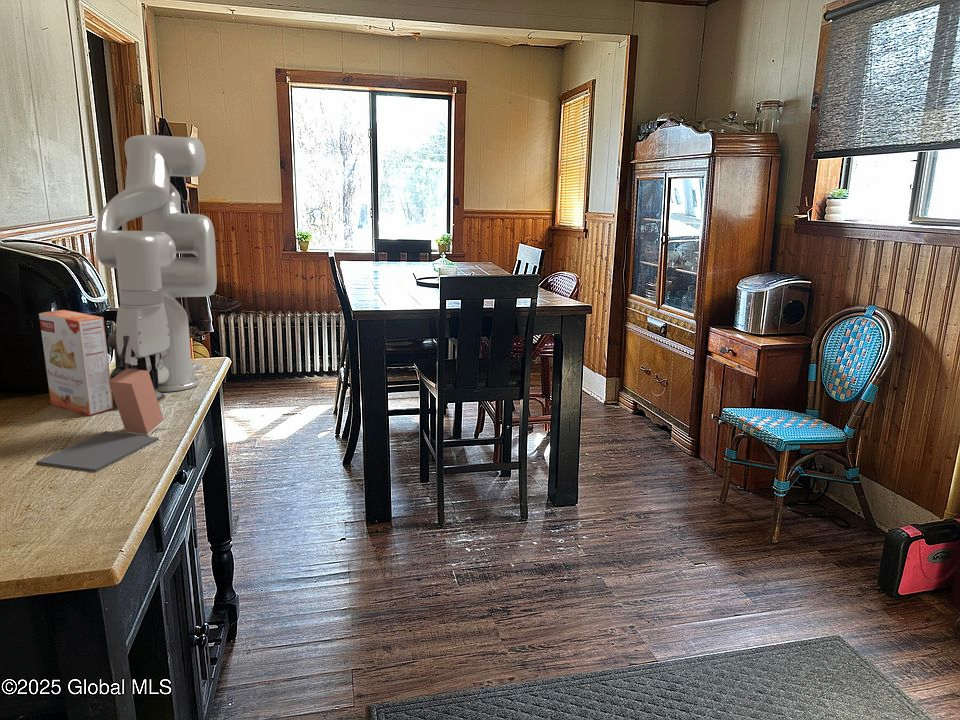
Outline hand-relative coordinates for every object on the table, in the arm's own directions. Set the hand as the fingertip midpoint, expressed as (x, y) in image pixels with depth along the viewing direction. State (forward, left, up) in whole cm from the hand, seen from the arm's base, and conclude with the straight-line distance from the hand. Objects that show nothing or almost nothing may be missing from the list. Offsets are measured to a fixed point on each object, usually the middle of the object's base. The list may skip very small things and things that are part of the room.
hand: (149, 388), depth 133 cm
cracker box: (-6, -23, -9) cm, 25 cm away
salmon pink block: (+2, 0, -8) cm, 8 cm away
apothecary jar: (-15, -15, -9) cm, 23 cm away
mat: (+14, 0, -8) cm, 16 cm away
